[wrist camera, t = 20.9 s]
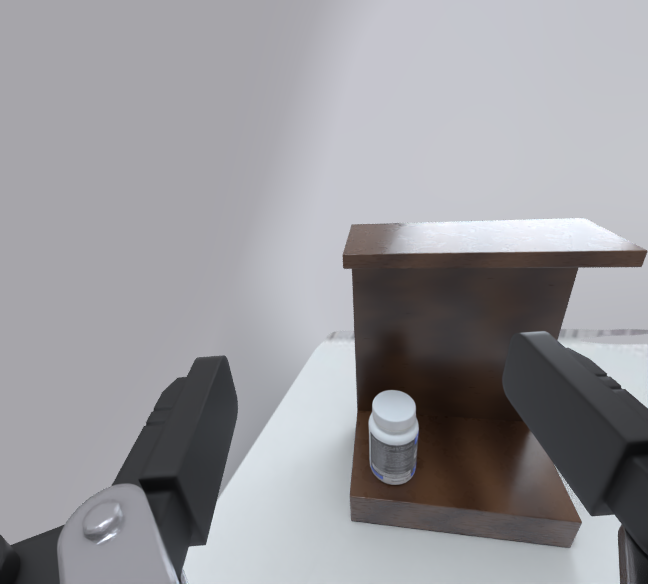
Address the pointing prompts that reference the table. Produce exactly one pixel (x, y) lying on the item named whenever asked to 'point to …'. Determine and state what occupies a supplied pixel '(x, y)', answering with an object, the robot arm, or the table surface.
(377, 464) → the pill bottle
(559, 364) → the robot arm
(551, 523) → the shelf
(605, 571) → the table surface
